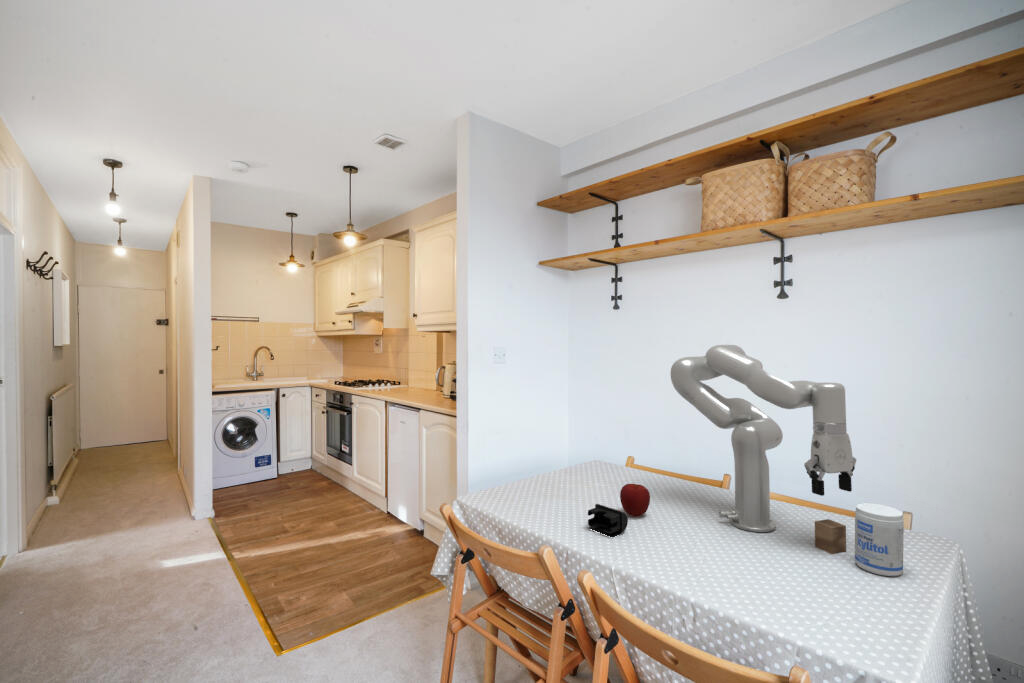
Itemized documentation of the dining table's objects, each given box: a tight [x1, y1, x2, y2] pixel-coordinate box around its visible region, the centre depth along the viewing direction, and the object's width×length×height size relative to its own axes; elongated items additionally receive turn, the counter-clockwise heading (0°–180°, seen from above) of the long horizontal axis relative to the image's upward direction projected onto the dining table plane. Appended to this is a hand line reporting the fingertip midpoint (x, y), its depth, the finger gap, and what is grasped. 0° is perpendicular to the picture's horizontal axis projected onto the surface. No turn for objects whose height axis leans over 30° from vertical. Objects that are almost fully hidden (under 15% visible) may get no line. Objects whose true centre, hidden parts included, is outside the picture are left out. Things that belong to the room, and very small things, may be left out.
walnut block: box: [814, 518, 847, 555], centre depth 130 cm, size 5×5×7 cm
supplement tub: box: [854, 502, 905, 577], centre depth 118 cm, size 10×10×15 cm
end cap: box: [587, 503, 629, 538], centre depth 144 cm, size 10×7×7 cm
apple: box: [619, 483, 651, 518], centre depth 156 cm, size 10×10×10 cm
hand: (831, 492), depth 129 cm, fingers open, 9 cm apart
